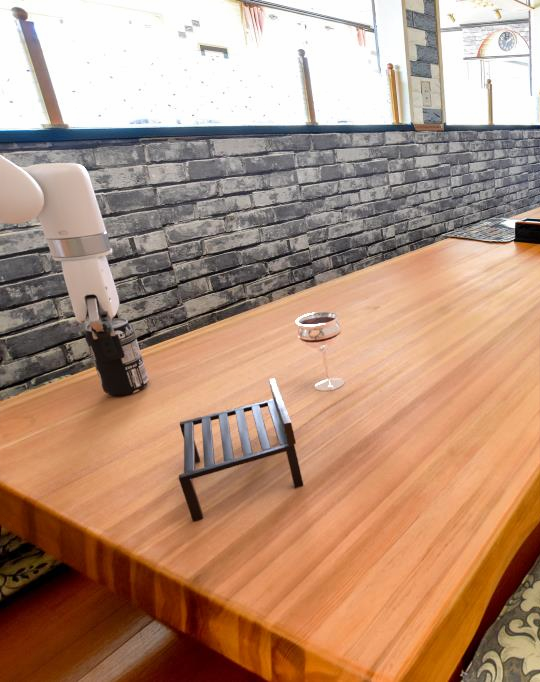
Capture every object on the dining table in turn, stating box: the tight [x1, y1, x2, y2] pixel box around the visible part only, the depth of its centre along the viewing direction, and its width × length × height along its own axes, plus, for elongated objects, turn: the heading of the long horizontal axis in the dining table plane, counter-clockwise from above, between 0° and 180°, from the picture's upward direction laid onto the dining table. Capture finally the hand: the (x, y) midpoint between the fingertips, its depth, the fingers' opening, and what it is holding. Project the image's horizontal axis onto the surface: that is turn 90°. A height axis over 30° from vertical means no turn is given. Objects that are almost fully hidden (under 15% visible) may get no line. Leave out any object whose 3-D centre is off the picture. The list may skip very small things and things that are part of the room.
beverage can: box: [84, 317, 150, 397], centre depth 90 cm, size 7×7×12 cm
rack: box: [178, 378, 304, 522], centre depth 67 cm, size 12×14×9 cm
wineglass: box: [295, 311, 345, 392], centre depth 89 cm, size 7×7×12 cm
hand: (115, 351), depth 89 cm, fingers closed on beverage can, 6 cm apart
